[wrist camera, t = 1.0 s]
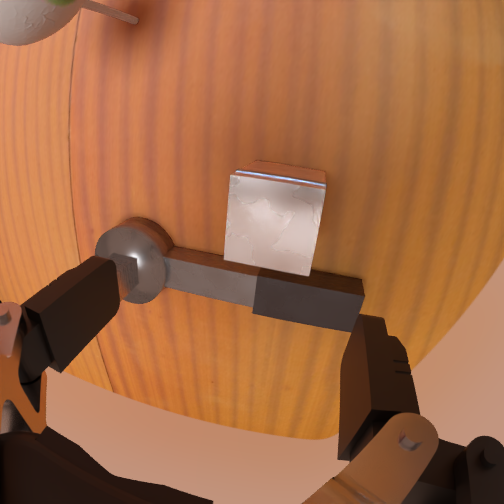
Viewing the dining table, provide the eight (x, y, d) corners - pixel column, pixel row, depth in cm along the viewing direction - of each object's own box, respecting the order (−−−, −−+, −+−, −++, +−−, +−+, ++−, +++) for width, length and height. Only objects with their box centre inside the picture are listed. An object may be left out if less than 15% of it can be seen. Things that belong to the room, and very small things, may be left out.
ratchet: (367, 259, 23) (380, 309, 17) (345, 330, 26) (346, 389, 20) (111, 212, 26) (60, 240, 20) (117, 278, 29) (74, 315, 23)
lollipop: (161, 59, 20) (0, 31, 7) (95, 59, 21) (-51, 55, 7) (182, -17, 17) (52, -94, 3) (113, -9, 18) (-17, -47, 4)
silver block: (326, 170, 21) (326, 189, 15) (314, 236, 23) (309, 277, 17) (255, 159, 22) (229, 173, 16) (248, 224, 24) (222, 260, 18)
